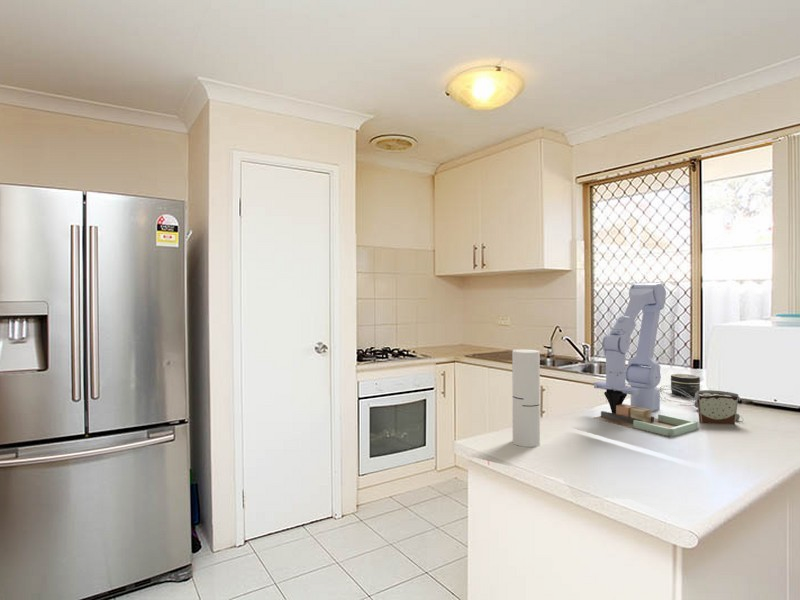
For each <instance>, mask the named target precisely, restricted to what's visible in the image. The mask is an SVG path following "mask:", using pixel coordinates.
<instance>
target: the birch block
mask: <svg viewBox="0 0 800 600" xmlns="http://www.w3.org/2000/svg"><path fill="white" fill-rule="evenodd" d="M651 416H652V412H651V410H650V409H645V408H641V407H636V408H631V418H635V419H639V420H642V422H646V423H651Z"/></svg>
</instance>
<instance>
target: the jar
mask: <svg viewBox="0 0 800 600" xmlns="http://www.w3.org/2000/svg"><path fill="white" fill-rule="evenodd" d="M673 386H674V387H673ZM676 387H677V388H676ZM672 388H673V389H672ZM678 388H679V389H678ZM670 389H672V390H670V391H671V394H672V395H673V396H674V395H675V396H676V395H677V396H678V397H682V396H683V397H682V398H689V396H690V398H692V397H693V398H695V394H696V392H697V391H701V377H700V376H699V375H695V374H686V373H674V374H671V375H670ZM674 389H675V390H677V391H675V390H674ZM680 389H681V390H680ZM682 390H683V391H682ZM678 391H680V392H682V393H684V394H686V395H684V394H682V393H680V392H678ZM685 392H686V393H685ZM688 394H689V395H688ZM687 395H688V397H687ZM677 396H676V397H677ZM691 396H692V397H691Z"/></svg>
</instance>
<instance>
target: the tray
mask: <svg viewBox="0 0 800 600" xmlns="http://www.w3.org/2000/svg"><path fill="white" fill-rule="evenodd" d="M657 419H658V421H661V422H665V423H670V424H674V425H679V426H676V427H672V428H667V427H663V426H658V425H654V424H650V423H646V422H642V421H637V420H633V427H634V428H638V429H642V430H646V431H650V432H654V433H658V434H662V435H666V436H670V438H673V437H676V435H677V436H680V435H682V434H686V432H687V433H690V432H692V431H696V429H697V430H699V429H698V428H699V427H698V426H699V422H698V421H694V420H691V419H685V418H681V417H677V416H676V417H675V416H672V415H666V414H661V413H658V414H657ZM634 428H633V429H634ZM689 431H690V432H689ZM679 434H680V435H679Z"/></svg>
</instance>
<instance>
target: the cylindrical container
mask: <svg viewBox="0 0 800 600" xmlns="http://www.w3.org/2000/svg"><path fill="white" fill-rule="evenodd" d="M511 353H512V355H511V356H512V357H511V358H512V364H511V365H512V367H511V368H512V373H511V374H512V377H511V378H512V379H511V380H512V386H511V387H512V443H513V444H514V445H516V446H519V447H523V448H536V447H539V446H540V444H541V436H540V435H541V432H540V431H541V429H540V428H541V427H540V426H541V424H540V423H541V420H540V419H541V416H540V415H541V412H540V411H541V410H540V409H541V406H540V405H541V399H540V397H541V395H540V394H541V393H540V391H541V390H540V388H541V381H540V380H541V379H540V378H541V377H540V376H541V375H540V373H541V372H540V370H541V369H540V368H541V367H540V364H541V362H540V361H541V359H540V358H541V357H540V356H541V355H540V354H541V352H540V350H538V349H537V350H536V349H526V348H525V349H520V348H519V349H512V351H511Z"/></svg>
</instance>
